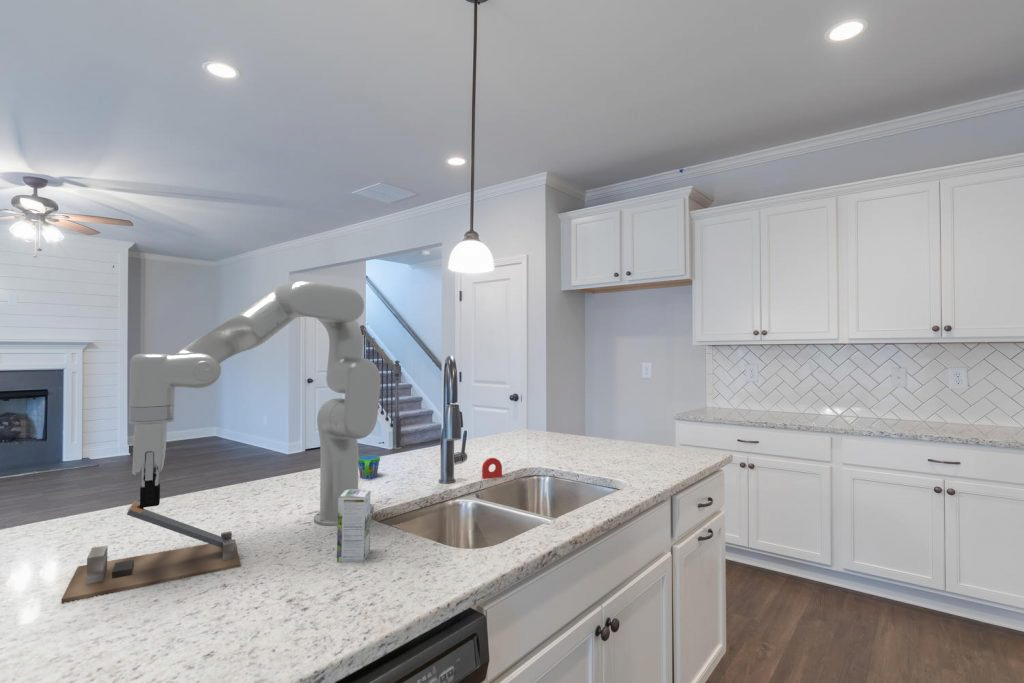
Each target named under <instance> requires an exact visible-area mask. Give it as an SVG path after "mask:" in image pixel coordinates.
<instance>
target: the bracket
mask: <svg viewBox="0 0 1024 683" xmlns="http://www.w3.org/2000/svg"><path fill="white" fill-rule="evenodd" d="M491 465H494V466H495V468H494V470H493V471H490V469H489V468H490V466H491ZM496 478H504V476H503V465H502V463H501V461H500V460H499V459H497V457H496V458H495V457H489V458H487V459H486V460H485V461H483V464H482V468H481V479H482V480H486V479H496Z"/></svg>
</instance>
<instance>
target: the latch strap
mask: <svg viewBox="0 0 1024 683" xmlns="http://www.w3.org/2000/svg"><path fill="white" fill-rule="evenodd" d="M126 515H127V516H130V517H132V518H136V519H138V520H141V521H143V522H146V523H150V524H152V525H156V526H157V527H161V528H163V529H167V530H170V531H173V532H175V533H178V534H180V535H183V536H186V537H190V538H193V539H195V540H198V541H201V542H204V543H205V544H212V545H215V546H218V547H220V548H223V543H226V542H232V540H233V539H232V540H231V539H230V537H225V538H224V537H221V535H219V534H214V533H212V532H210V531H206V530H204V529H201V528H199V527H195V526H192V525H189V524H187V523H185V522H182V521H179V520H177V519H174V518H170V517H167V516H165V515H162V514H159V513H157V512H154V511H152V510H150V509H149V510H148V509H146V508H145V507H144V508H142V507H140V501H136V500H134V501H133V502H132V504H131V505H130V506H129V508H128V510H127V512H126Z"/></svg>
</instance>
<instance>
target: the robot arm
mask: <svg viewBox="0 0 1024 683" xmlns="http://www.w3.org/2000/svg"><path fill="white" fill-rule="evenodd" d="M364 311H365V301H364V298H363V297H362V295H361V294H360V293H359V292H358V291H357V290H354V289H353V288H349V287H346V286H345V287H344V286H338V285H331V284H325V283H319V282H314V281H309V280H308V281H307V280H298V281H297V280H296V281H290V282H286V283H282V284H279V285H277V286H276V287H273V288H272V289H271V290H270V291H269V292H266V293H265V294H264V295H263V296H261V297H260V298H258V299H257V300H256V301H254V302H252V304H250V305H249V306H248V307H245V309H243V310H241V311H240V312H238V313H237V314H236V315H234V316H232V317H231V318H229V319H226V320H225V321H223V322H222V323H221V324H220V325H219V324H218V325H217V326H216V327H214V328H212V329H211V330H209V331H208V332H205V333H204V334H203V335H201V336H199V337H198V338H196V339H194V340H193V341H192V342H191V343H189V344H188V345H186V346H185V347H183V348H182V349H180V350H179V351H178V352H177V353H175V354H174V355H172V354H168V353H137V354H134V355H133V356H132V357H131V358H130V360H129V361H130V365H129V394H128V395H129V397H128V399H129V401H128V404H129V407H128V424H131V425H134V429H133V430H134V431H133V444H132V446H133V447H132V470H131V473H132V475H134V476H137V474H138V473H139V474H140V472H141V474H140V475H141V485H140V488H139V491H140V492H139V493H140V494H139V503H140V507H142V508H144V509H145V508H151V507H157V506H158V507H159V505H160V503H161V500H160V499H161V484H160V473H161V472H162V471H163V467H164V463H165V458H166V451H167V436H168V435H167V433H168V432H167V430H168V428H167V427H168V423H170V422H174V421H175V397H176V396H175V394H176V393H175V392H176V390H175V388H188V389H189V388H190V389H205V388H207V387H210V386H212V385H213V384H215V383H216V382H218V380H219V378H220V376H221V374H222V367H221V363H222V362H224V361H226V360H227V359H230V358H232V357H233V356H236V355H238V354H240V353H242V352H246V351H249V350H252V349H255V348H257V347H259V346H260V345H261V346H262V344H265V343H266V342H267V341H268V340H269V339H271V338H273V336H275V335H277V333H278V332H279V331H281V330H282V329H283V328H284V327H287V325H288V324H291V322H293V321H294V320H295V319H297V318H303V317H307V318H315V319H317V320H318V321H319V322H320V323H321V324H322V326H323V327H324V328H325V330H326V332H327V335H328V340H329V342H328V343H329V346H328V355H327V356H328V358H327V368H326V376H325V377H326V384H327V386H328V388H329V389H330V390H331V391H333V392H335V393H338V394H344V398H337V397H336V398H332V399H331V398H330V399H329V400H327V401H325V402H324V403H323V404H322V405H321V407H320V408H319V409H318V412H317V416H316V421H317V422H316V423H317V431H318V435H319V446H320V447H319V448H320V454H319V455H320V458H319V459H320V460H319V461H320V465H319V466H320V468H319V470H320V472H319V474H320V476H319V481H320V482H319V485H320V487H319V492H320V493H319V497H320V498H319V503H320V504H319V512H317V513H316V514H315V515H314V516H313V523H314V524H316V525H317V526H325V527H338V498H339V497H340V496H341V495H342V493H343V492H344V491H345V490H350V489H359V466H358V459H359V457H360V456H359V444H358V440H360V439H361V440H362V439H365V438H367V437H368V436H369V435H370V434H372V432H373V431H374V429H375V427H376V424H377V421H378V416H379V415H378V414H379V408H380V407H379V405H380V395H381V380H382V379H381V374H380V371H379V369H378V366H377V364H375V363H374V362H373V361H372V360H370V359H368V358H364V357H363V342H364V338H363V333H362V329H361V327H360V324H359V323H358V322H357V320H358V319H359V318H360V317H362V315H363V314H364ZM374 512H375V507H374V505H372V504H371V503H370V515H371V514H372V515H373V514H374Z"/></svg>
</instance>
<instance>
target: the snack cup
mask: <svg viewBox="0 0 1024 683" xmlns="http://www.w3.org/2000/svg"><path fill="white" fill-rule="evenodd" d="M380 461H381V457H380V456H379V455H373V454H372V455H362V456H359V459H358V474H359V478H360V479H361V478H362V480H371V479H375V478H377V477H378V471H379V466H380V465H379V464H380Z"/></svg>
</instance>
